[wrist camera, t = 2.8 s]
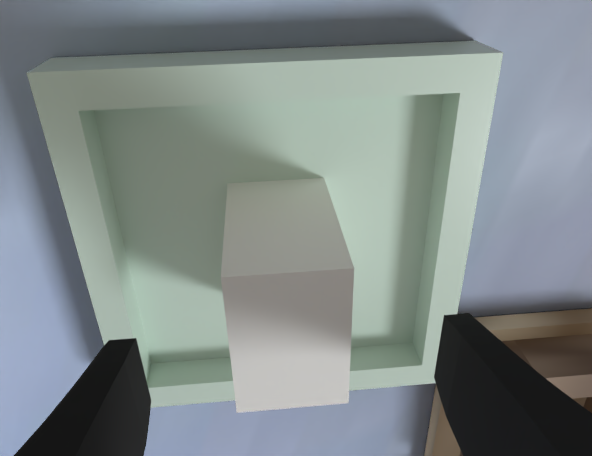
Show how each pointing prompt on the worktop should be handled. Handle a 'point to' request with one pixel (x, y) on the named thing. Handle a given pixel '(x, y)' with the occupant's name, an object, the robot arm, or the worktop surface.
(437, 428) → the wooden holder
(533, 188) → the worktop surface
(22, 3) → the worktop surface
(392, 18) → the worktop surface
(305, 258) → the plug
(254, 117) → the tray
